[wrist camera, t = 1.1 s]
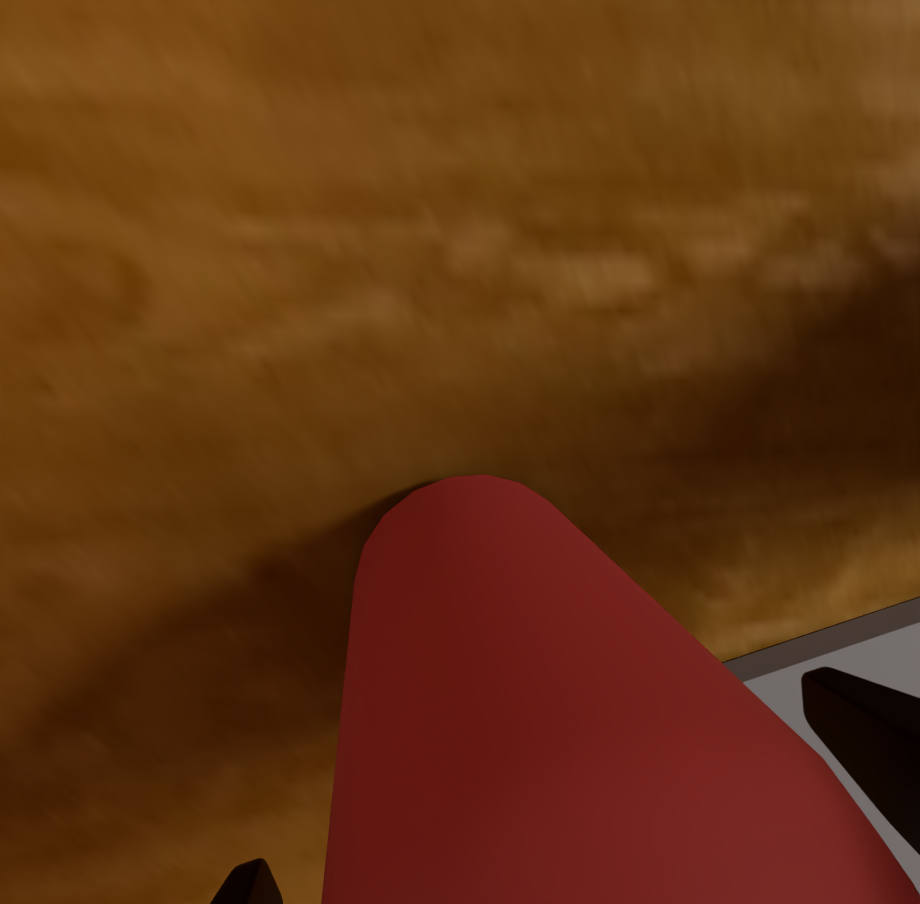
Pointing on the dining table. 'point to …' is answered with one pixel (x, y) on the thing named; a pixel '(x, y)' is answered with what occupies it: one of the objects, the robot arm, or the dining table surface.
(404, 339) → the dining table surface
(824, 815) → the beer can
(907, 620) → the slate board
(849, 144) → the dining table surface
